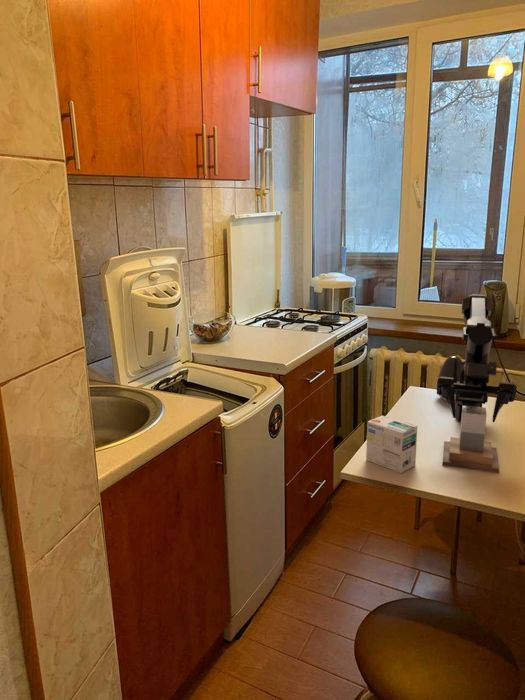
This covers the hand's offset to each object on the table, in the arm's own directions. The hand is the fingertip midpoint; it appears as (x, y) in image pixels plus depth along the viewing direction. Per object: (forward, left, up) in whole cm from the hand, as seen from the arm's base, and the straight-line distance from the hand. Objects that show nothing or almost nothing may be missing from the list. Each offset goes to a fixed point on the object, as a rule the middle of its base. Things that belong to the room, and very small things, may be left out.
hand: (473, 419), depth 134 cm
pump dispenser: (-16, -44, -11) cm, 48 cm away
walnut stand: (-1, -1, -11) cm, 11 cm away
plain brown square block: (-1, -1, -8) cm, 8 cm away
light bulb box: (+20, -1, -11) cm, 23 cm away
